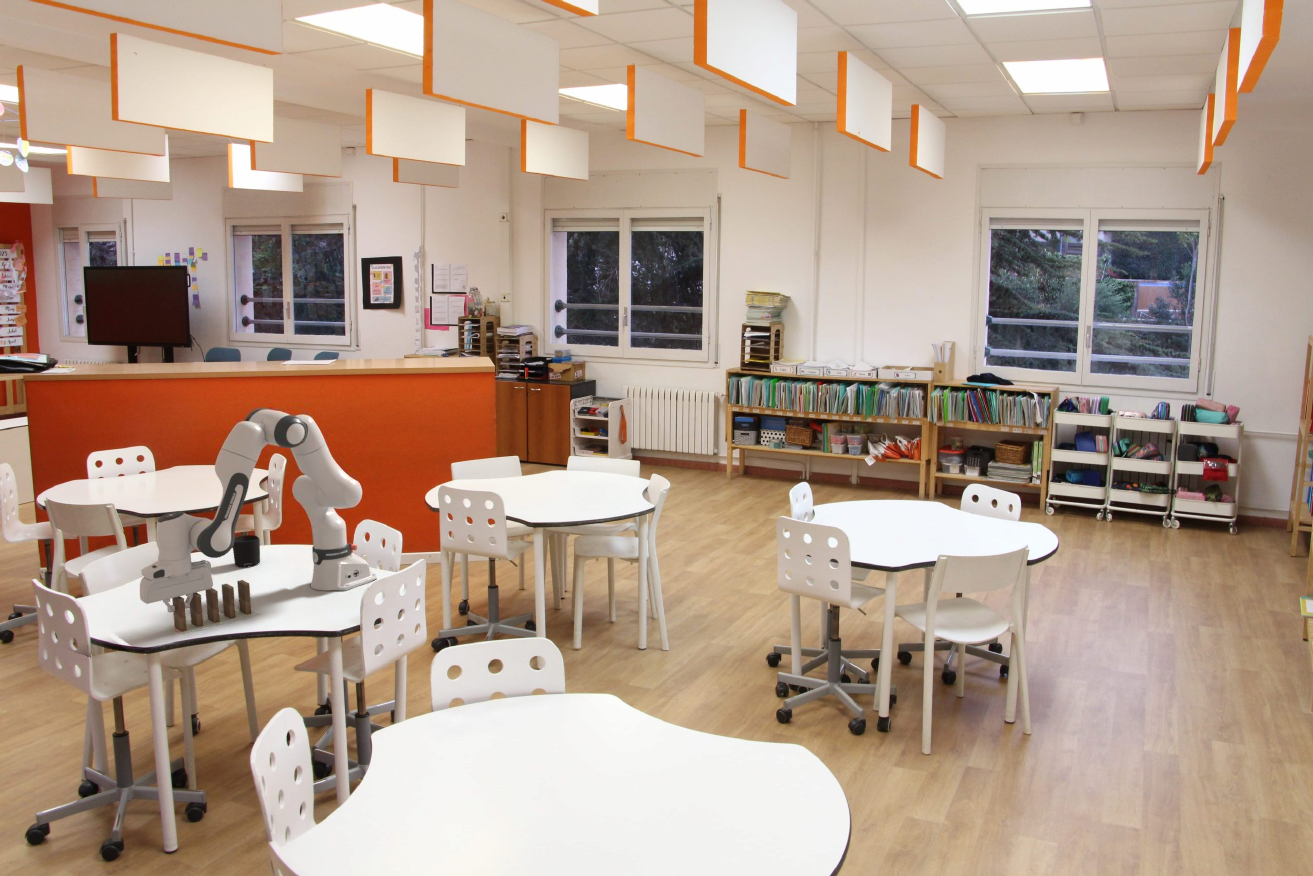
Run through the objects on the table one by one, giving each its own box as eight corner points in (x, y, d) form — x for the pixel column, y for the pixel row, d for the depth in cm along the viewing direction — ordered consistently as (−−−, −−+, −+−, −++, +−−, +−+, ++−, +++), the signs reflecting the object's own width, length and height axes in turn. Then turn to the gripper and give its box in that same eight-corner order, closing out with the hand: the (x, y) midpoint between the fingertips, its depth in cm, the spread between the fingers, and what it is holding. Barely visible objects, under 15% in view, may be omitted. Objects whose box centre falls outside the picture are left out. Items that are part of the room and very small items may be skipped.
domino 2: (212, 617, 303) (210, 587, 302) (219, 621, 300) (217, 591, 298) (207, 619, 302) (205, 588, 300) (214, 623, 299) (212, 592, 297)
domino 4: (244, 609, 311) (242, 579, 309) (251, 613, 307) (249, 583, 306) (239, 611, 309) (237, 581, 308) (246, 614, 306) (244, 584, 304)
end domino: (180, 626, 296) (177, 594, 294) (186, 630, 293) (184, 598, 291) (174, 627, 295) (172, 596, 293) (181, 631, 292) (178, 600, 290)
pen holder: (228, 567, 357) (226, 541, 356) (244, 559, 366) (242, 534, 365) (250, 569, 355) (249, 542, 354) (266, 561, 364) (264, 536, 363)
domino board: (246, 609, 313) (246, 606, 313) (259, 616, 307) (259, 613, 307) (169, 629, 296) (169, 626, 296) (181, 637, 290) (181, 634, 290)
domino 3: (228, 613, 307) (226, 583, 305) (235, 617, 304) (233, 587, 302) (223, 615, 306) (221, 584, 304) (230, 619, 302) (228, 588, 301)
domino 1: (196, 622, 300) (194, 591, 298) (203, 626, 296) (200, 594, 295) (191, 623, 299) (188, 592, 297) (198, 627, 295) (195, 596, 293)
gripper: (206, 556, 300) (209, 599, 302) (135, 571, 285) (139, 615, 288) (214, 560, 296) (218, 603, 298) (143, 576, 281) (147, 621, 283)
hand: (179, 609), depth 293 cm, fingers open, 3 cm apart
